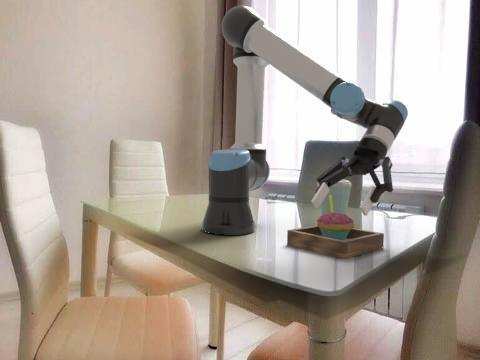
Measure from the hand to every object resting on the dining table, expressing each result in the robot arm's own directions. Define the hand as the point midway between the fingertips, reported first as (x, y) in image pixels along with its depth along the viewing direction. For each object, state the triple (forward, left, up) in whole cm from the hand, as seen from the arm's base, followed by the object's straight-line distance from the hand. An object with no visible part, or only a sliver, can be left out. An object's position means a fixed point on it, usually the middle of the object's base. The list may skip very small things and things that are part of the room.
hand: (337, 208), depth 84 cm
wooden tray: (0, 0, -9) cm, 9 cm away
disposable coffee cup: (-17, +23, -9) cm, 30 cm away
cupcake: (0, 0, -8) cm, 8 cm away
